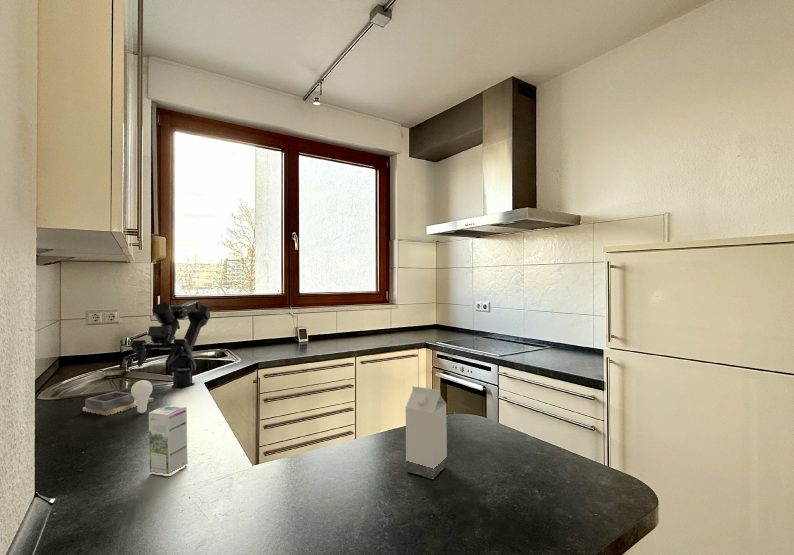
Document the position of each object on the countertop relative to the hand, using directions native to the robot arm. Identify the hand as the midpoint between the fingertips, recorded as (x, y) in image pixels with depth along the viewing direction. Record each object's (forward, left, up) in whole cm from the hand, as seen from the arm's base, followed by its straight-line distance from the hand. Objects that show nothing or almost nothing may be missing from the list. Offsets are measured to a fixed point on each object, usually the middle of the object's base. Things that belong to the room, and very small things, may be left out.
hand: (152, 365), depth 139 cm
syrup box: (+31, +50, -14) cm, 60 cm away
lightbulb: (+7, +5, -14) cm, 17 cm away
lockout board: (+5, -10, -14) cm, 18 cm away
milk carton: (+9, +106, -14) cm, 107 cm away
